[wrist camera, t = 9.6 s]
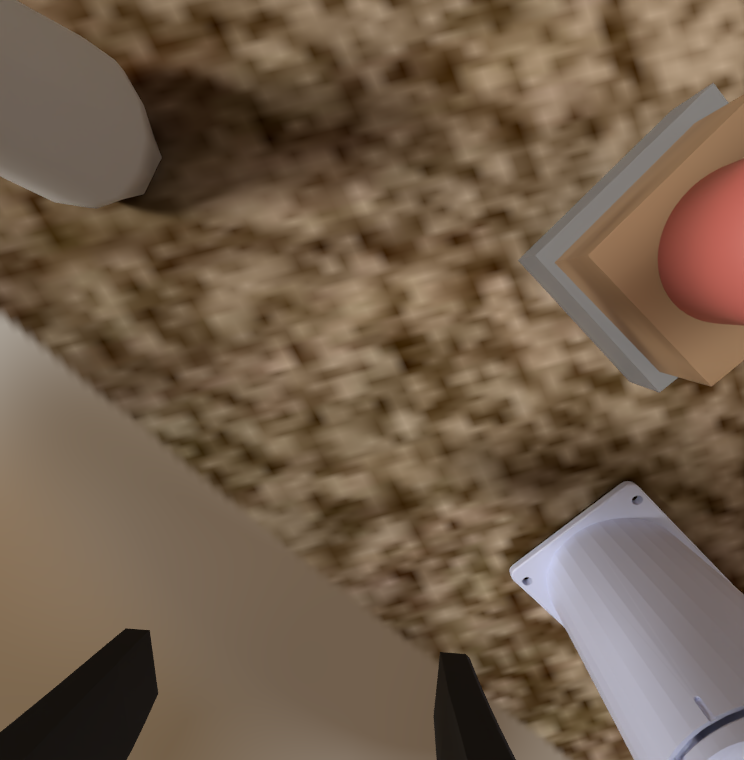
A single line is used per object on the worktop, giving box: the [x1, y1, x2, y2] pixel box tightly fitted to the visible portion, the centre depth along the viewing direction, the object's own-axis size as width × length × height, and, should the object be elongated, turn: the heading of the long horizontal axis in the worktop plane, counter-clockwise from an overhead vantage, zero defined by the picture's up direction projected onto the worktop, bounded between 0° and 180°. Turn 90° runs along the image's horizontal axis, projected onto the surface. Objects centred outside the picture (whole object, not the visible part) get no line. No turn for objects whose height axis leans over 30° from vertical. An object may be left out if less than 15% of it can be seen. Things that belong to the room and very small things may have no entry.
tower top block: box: [555, 95, 744, 386], centre depth 13 cm, size 6×6×2 cm
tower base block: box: [518, 83, 728, 392], centre depth 15 cm, size 8×8×2 cm
